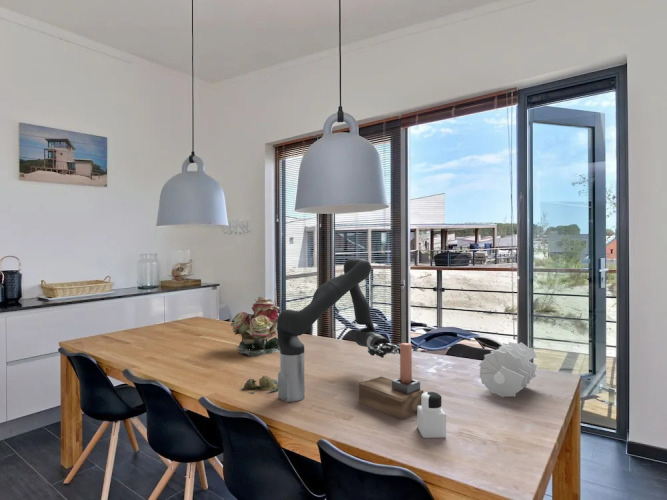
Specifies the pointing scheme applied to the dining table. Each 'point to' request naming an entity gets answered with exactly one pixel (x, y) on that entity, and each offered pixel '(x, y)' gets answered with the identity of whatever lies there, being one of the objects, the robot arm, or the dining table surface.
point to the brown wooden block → (391, 396)
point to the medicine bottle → (431, 416)
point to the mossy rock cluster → (261, 384)
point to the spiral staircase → (508, 369)
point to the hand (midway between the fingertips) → (393, 354)
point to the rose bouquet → (258, 328)
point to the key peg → (406, 363)
